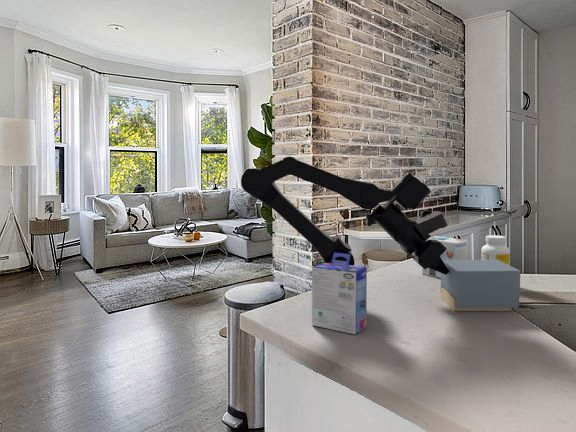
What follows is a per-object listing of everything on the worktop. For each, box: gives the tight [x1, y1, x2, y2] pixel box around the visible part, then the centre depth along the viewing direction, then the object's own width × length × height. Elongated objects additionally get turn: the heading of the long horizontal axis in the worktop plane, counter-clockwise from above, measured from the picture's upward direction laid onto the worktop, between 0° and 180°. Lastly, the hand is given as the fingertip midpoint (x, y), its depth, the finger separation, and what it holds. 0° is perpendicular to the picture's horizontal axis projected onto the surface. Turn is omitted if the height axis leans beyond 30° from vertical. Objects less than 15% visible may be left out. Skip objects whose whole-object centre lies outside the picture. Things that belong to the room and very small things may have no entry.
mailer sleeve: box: [440, 259, 521, 309], centre depth 92 cm, size 13×11×8 cm
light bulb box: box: [421, 235, 469, 279], centre depth 117 cm, size 11×7×11 cm, turn 37°
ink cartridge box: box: [311, 253, 368, 335], centre depth 81 cm, size 10×6×14 cm, turn 57°
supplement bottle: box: [480, 234, 511, 265], centre depth 107 cm, size 7×7×13 cm
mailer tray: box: [440, 286, 512, 312], centre depth 93 cm, size 12×9×3 cm
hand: (447, 272), depth 93 cm, fingers closed, pressing on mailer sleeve
